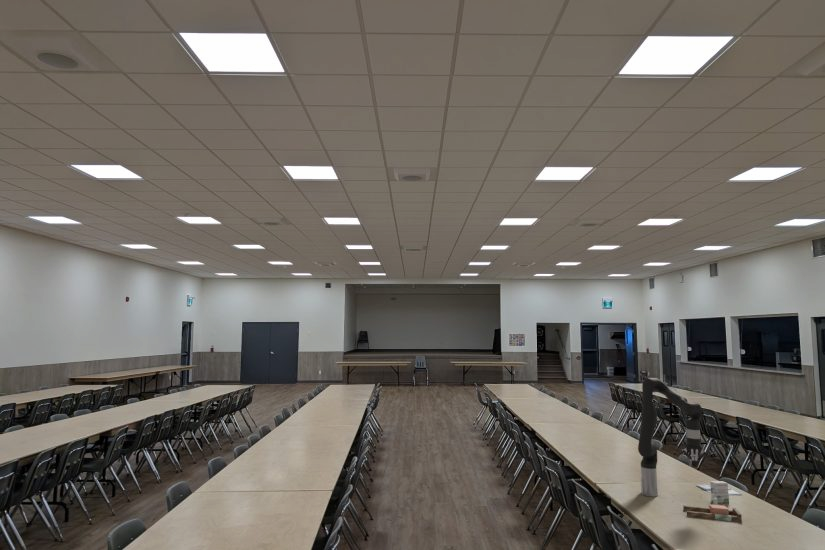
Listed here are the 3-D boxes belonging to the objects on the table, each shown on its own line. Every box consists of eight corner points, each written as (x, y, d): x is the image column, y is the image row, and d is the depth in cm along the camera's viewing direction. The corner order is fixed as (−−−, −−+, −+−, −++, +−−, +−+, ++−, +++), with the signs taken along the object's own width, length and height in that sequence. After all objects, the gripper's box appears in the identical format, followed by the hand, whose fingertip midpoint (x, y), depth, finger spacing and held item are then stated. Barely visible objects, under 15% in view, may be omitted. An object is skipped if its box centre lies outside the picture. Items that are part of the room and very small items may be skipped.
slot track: (687, 516, 283) (686, 508, 283) (683, 509, 293) (683, 502, 294) (741, 522, 274) (741, 514, 275) (735, 515, 285) (735, 508, 285)
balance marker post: (714, 511, 291) (713, 498, 292) (713, 510, 293) (712, 497, 294) (718, 511, 290) (717, 499, 291) (717, 510, 292) (716, 498, 293)
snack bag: (722, 486, 341) (722, 483, 341) (742, 496, 321) (742, 492, 321) (695, 486, 340) (695, 483, 340) (714, 496, 320) (713, 492, 320)
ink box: (724, 500, 311) (722, 480, 312) (729, 502, 306) (728, 483, 308) (711, 500, 311) (709, 480, 312) (716, 503, 306) (715, 483, 307)
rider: (713, 517, 281) (712, 507, 282) (710, 514, 287) (709, 504, 287) (729, 519, 279) (728, 509, 279) (725, 515, 284) (724, 505, 285)
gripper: (681, 437, 293) (683, 467, 291) (707, 439, 288) (708, 469, 287) (679, 434, 300) (680, 464, 298) (704, 436, 296) (705, 466, 294)
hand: (694, 466), depth 292 cm, fingers closed
